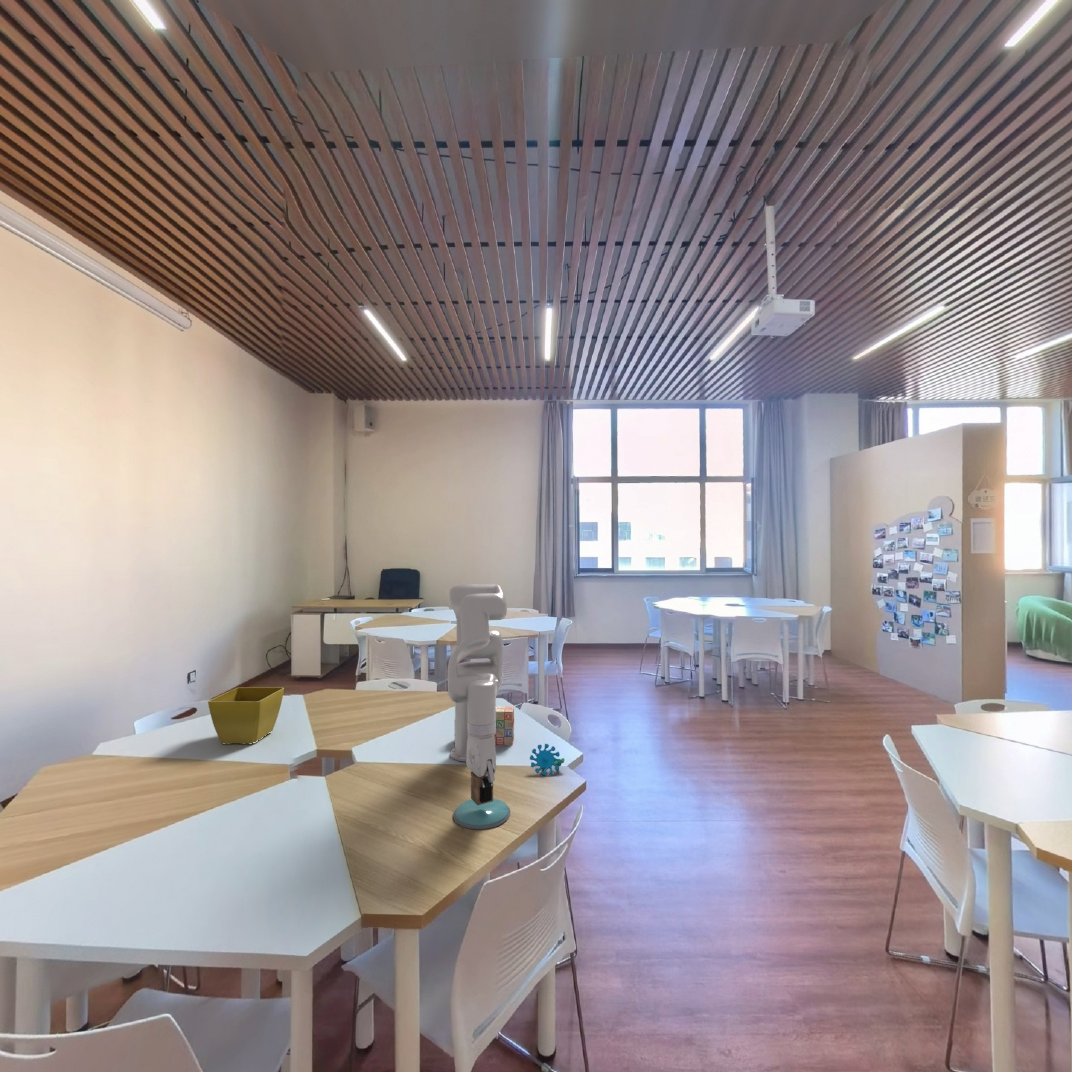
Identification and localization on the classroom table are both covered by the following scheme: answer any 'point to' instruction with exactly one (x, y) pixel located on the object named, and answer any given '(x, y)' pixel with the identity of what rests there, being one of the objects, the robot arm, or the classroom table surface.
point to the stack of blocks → (504, 725)
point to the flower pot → (245, 713)
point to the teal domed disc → (481, 814)
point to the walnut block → (477, 789)
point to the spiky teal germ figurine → (546, 759)
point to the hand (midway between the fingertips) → (481, 796)
